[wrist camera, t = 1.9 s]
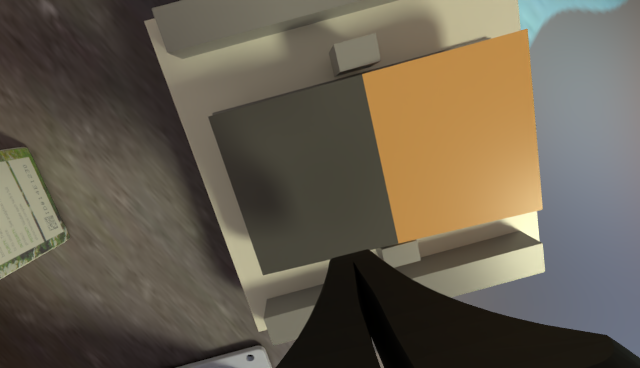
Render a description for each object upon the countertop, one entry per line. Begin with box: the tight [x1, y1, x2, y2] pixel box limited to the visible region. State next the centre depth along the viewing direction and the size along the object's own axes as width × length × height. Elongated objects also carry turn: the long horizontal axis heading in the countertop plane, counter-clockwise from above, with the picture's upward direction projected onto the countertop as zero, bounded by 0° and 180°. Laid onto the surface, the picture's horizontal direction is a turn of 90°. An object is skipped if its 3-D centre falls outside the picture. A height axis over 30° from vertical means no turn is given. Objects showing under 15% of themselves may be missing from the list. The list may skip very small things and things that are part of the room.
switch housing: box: [144, 0, 545, 345], centre depth 15 cm, size 16×16×6 cm
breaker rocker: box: [208, 29, 543, 275], centre depth 13 cm, size 12×7×1 cm, turn 105°
